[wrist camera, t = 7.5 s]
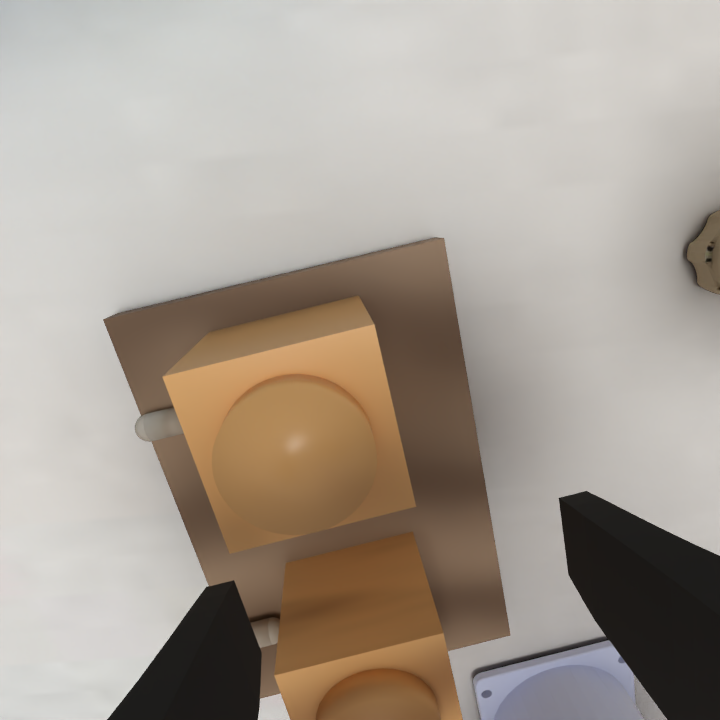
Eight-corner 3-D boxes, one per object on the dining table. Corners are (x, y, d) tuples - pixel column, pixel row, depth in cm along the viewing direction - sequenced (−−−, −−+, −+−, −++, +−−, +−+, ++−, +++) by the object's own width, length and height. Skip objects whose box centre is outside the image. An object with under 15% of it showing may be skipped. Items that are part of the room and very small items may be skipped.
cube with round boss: (390, 431, 18) (423, 529, 12) (253, 465, 18) (222, 580, 12) (358, 295, 16) (379, 333, 11) (208, 332, 16) (148, 390, 10)
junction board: (500, 614, 22) (581, 787, 15) (255, 675, 22) (226, 879, 15) (435, 237, 17) (513, 244, 10) (114, 313, 17) (-26, 373, 10)
